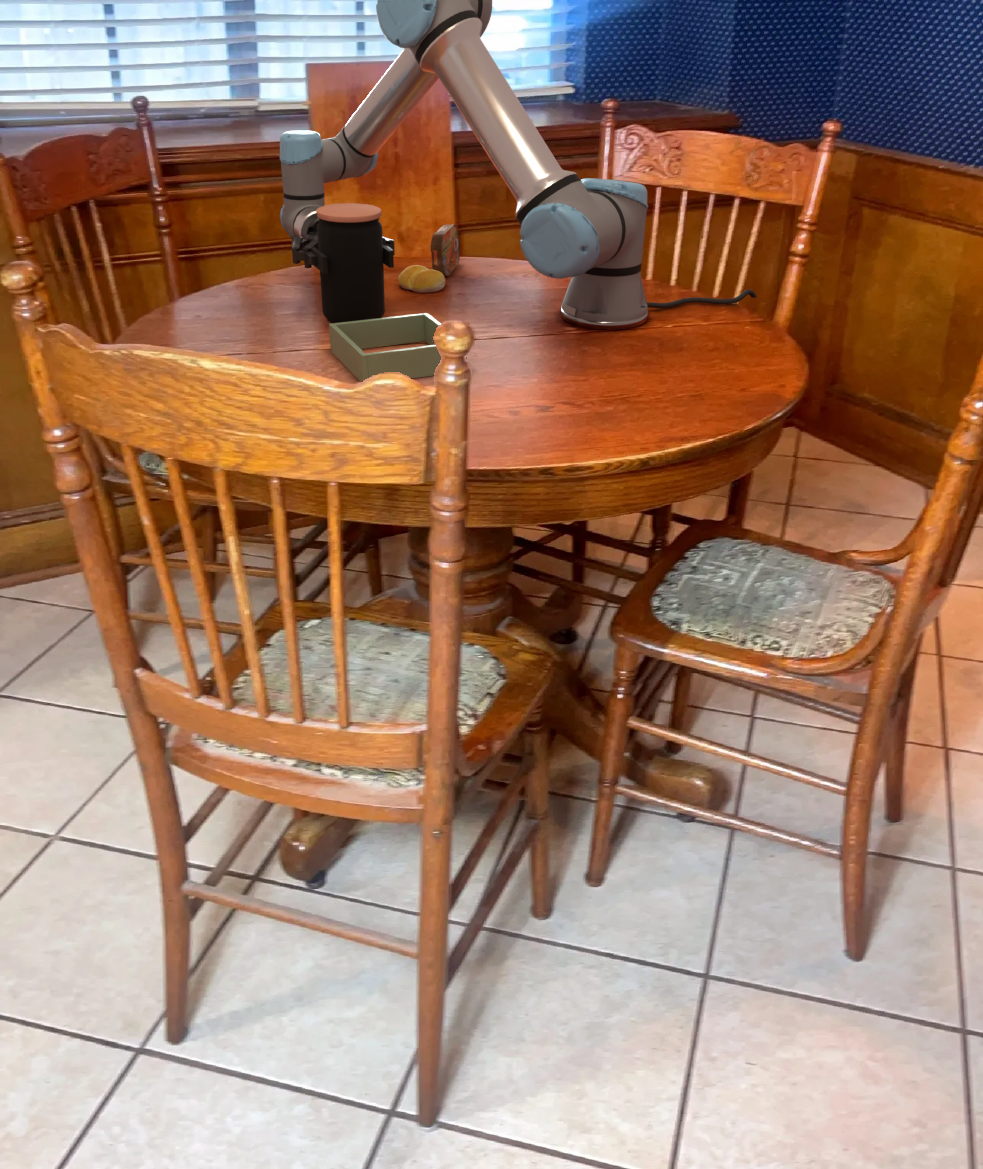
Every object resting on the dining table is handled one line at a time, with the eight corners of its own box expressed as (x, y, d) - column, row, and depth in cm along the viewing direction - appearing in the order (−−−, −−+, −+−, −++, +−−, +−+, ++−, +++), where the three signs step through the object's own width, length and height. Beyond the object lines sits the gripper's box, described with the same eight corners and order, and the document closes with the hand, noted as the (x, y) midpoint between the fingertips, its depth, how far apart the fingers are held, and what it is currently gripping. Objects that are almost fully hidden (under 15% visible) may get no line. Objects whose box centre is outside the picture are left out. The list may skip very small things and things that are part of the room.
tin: (444, 280, 203) (443, 236, 199) (428, 279, 204) (428, 235, 200) (461, 262, 216) (461, 220, 212) (446, 261, 217) (446, 219, 212)
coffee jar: (397, 316, 180) (394, 208, 171) (359, 332, 172) (353, 219, 163) (349, 306, 185) (344, 200, 176) (309, 320, 177) (302, 210, 168)
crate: (427, 339, 172) (427, 312, 169) (466, 371, 159) (467, 342, 156) (330, 351, 166) (328, 323, 163) (363, 385, 153) (362, 355, 150)
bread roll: (426, 296, 194) (426, 274, 192) (391, 287, 199) (391, 266, 197) (455, 287, 199) (455, 266, 197) (420, 279, 204) (420, 258, 202)
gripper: (381, 249, 193) (424, 279, 176) (258, 260, 185) (291, 292, 168) (380, 207, 189) (424, 233, 172) (254, 216, 181) (287, 244, 164)
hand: (358, 262), depth 170 cm, fingers closed on coffee jar, 11 cm apart
